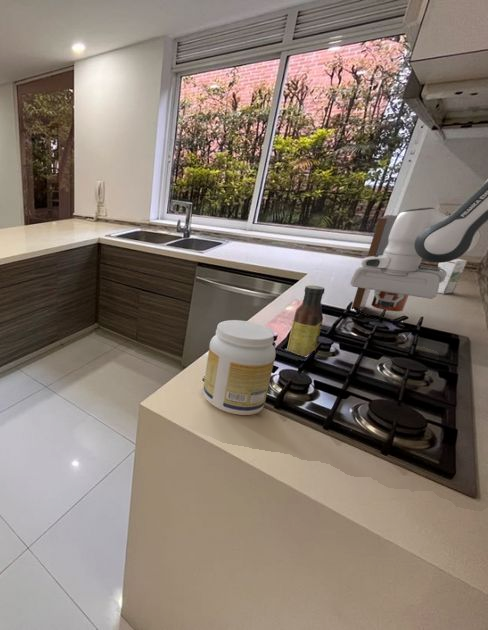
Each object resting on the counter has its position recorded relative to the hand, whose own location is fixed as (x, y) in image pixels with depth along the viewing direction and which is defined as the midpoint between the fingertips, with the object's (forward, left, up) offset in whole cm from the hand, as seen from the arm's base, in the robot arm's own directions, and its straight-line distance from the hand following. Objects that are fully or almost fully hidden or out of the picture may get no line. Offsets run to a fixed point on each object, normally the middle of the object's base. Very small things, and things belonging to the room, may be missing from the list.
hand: (385, 305), depth 108 cm
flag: (-1, -14, -8) cm, 16 cm away
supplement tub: (+15, +76, -8) cm, 78 cm away
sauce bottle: (+11, +43, -8) cm, 45 cm away
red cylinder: (0, -8, -4) cm, 9 cm away
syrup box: (-13, -71, -8) cm, 73 cm away
